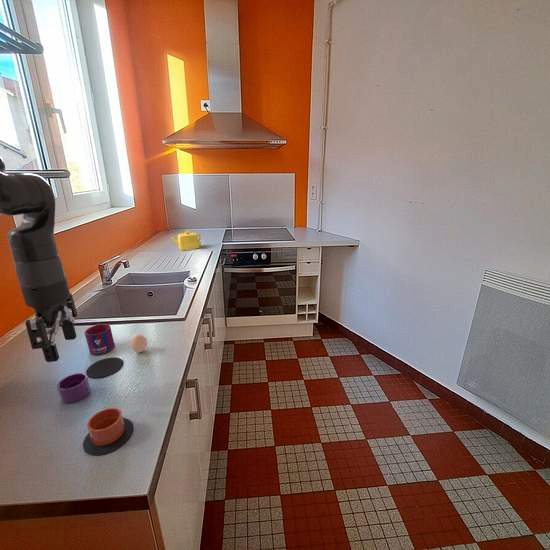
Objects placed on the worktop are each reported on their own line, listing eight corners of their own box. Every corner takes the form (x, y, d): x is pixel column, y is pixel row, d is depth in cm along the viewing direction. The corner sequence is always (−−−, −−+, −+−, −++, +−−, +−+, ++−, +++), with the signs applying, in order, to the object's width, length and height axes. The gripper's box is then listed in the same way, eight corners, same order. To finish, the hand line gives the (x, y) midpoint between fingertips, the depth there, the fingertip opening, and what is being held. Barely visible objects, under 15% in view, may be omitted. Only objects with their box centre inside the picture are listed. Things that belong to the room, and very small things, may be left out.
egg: (134, 357, 87) (130, 340, 85) (130, 350, 90) (127, 334, 88) (150, 352, 89) (147, 335, 87) (146, 345, 92) (143, 329, 91)
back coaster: (80, 380, 77) (80, 379, 77) (93, 360, 86) (92, 359, 86) (118, 375, 79) (118, 374, 79) (126, 356, 88) (126, 355, 87)
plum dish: (56, 405, 69) (52, 391, 68) (68, 388, 75) (63, 375, 73) (85, 401, 70) (81, 387, 69) (94, 384, 76) (90, 371, 75)
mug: (87, 357, 87) (82, 337, 85) (93, 340, 96) (88, 321, 94) (113, 352, 90) (108, 332, 87) (117, 336, 98) (112, 317, 96)
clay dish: (87, 450, 57) (82, 434, 56) (97, 425, 63) (93, 410, 62) (121, 444, 59) (116, 428, 57) (128, 420, 64) (124, 405, 63)
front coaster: (75, 460, 56) (75, 459, 56) (92, 422, 64) (92, 421, 64) (127, 450, 58) (127, 449, 57) (137, 415, 66) (137, 414, 66)
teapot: (174, 252, 202) (171, 234, 198) (171, 248, 212) (169, 231, 209) (203, 248, 210) (201, 231, 206) (200, 244, 220) (198, 228, 216)
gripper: (40, 269, 66) (58, 334, 71) (-2, 294, 53) (24, 371, 58) (78, 267, 67) (93, 331, 73) (45, 290, 54) (67, 367, 59)
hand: (62, 349), depth 65 cm, fingers open, 8 cm apart
